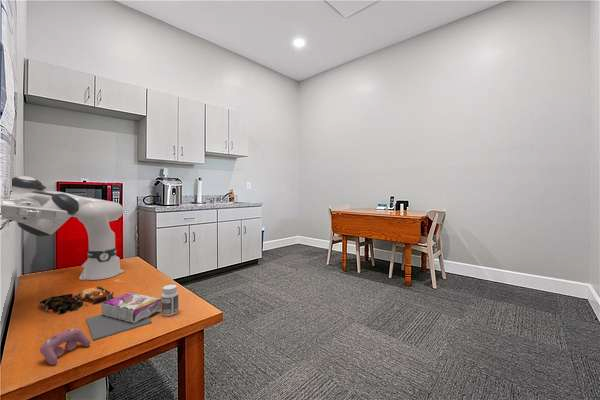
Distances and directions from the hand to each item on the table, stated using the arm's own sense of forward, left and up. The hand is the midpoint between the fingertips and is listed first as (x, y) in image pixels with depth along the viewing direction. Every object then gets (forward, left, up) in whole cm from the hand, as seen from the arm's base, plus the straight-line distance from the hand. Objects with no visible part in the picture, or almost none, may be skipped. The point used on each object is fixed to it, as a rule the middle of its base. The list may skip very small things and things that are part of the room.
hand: (32, 213), depth 87 cm
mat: (+16, +21, -37) cm, 46 cm away
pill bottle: (+21, +36, -37) cm, 56 cm away
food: (-14, +13, -38) cm, 43 cm away
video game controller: (+28, +6, -38) cm, 47 cm away
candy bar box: (+6, +22, -34) cm, 41 cm away
